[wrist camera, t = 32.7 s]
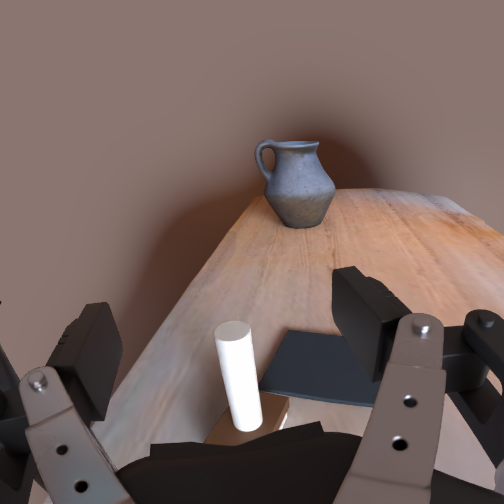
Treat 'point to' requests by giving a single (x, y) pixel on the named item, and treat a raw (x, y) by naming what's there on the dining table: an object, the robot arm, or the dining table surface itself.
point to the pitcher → (296, 183)
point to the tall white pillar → (243, 391)
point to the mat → (319, 371)
